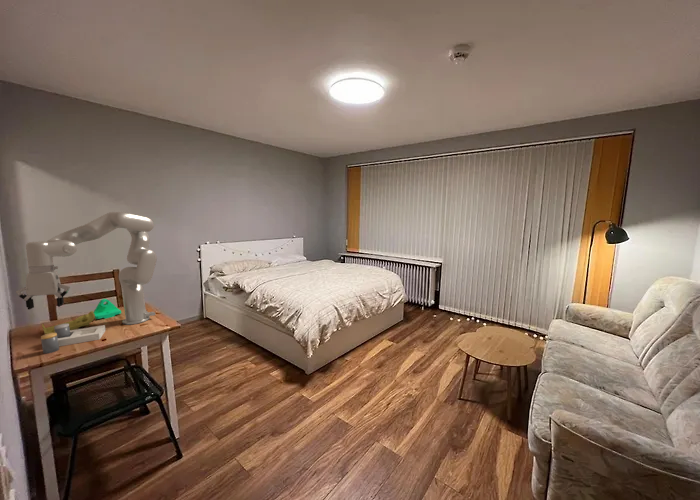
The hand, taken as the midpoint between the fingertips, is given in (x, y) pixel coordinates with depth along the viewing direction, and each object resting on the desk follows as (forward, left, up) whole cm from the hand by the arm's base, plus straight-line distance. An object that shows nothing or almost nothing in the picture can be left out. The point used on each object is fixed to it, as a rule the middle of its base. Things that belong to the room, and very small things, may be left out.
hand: (45, 307), depth 127 cm
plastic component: (+1, -26, -21) cm, 33 cm away
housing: (-6, -8, -21) cm, 23 cm away
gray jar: (0, +2, -21) cm, 21 cm away
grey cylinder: (-2, -8, -20) cm, 22 cm away
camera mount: (-12, -41, -21) cm, 48 cm away
